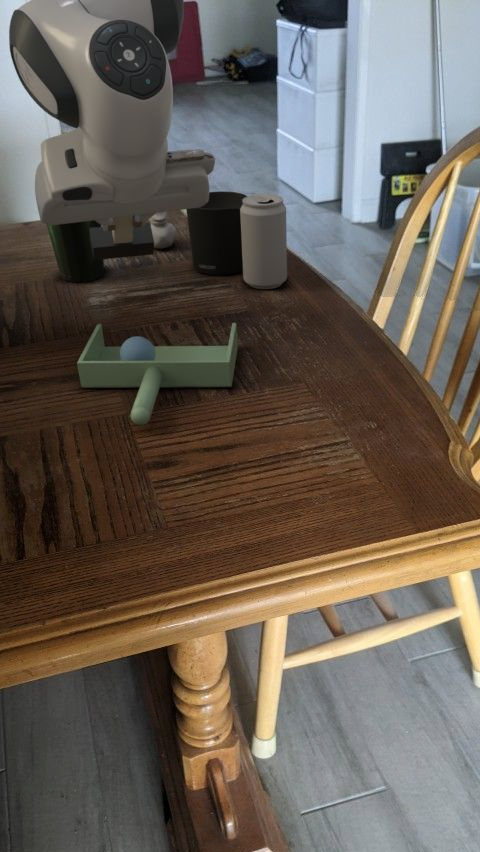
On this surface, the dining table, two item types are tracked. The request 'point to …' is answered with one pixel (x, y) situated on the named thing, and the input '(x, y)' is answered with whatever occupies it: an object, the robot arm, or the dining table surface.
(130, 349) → the foam ball
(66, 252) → the potion bottle
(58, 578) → the dining table surface
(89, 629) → the dining table surface
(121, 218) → the brush
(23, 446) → the dining table surface
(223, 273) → the pen holder
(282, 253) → the beverage can
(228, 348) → the dustpan
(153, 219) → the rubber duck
